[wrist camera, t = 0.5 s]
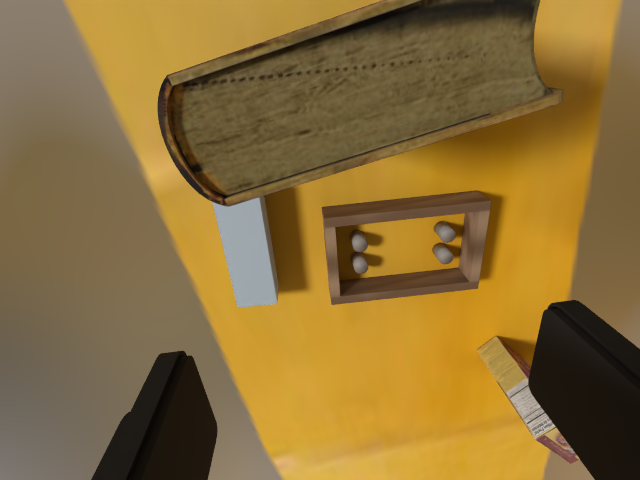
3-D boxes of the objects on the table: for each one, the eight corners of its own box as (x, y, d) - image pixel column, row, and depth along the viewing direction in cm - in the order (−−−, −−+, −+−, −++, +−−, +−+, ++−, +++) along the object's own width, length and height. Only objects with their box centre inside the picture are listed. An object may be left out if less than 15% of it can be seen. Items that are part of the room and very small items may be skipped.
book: (256, 124, 37) (200, 215, 15) (236, 70, 35) (134, 86, 13) (403, 75, 36) (576, 99, 14) (393, 16, 34) (585, -71, 11)
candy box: (527, 358, 57) (599, 450, 44) (505, 373, 59) (569, 466, 45) (497, 333, 54) (564, 423, 41) (475, 349, 56) (533, 442, 42)
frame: (321, 207, 42) (324, 218, 39) (477, 190, 43) (491, 200, 40) (329, 289, 48) (331, 304, 45) (466, 274, 48) (477, 288, 45)
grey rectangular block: (219, 182, 40) (210, 195, 36) (261, 178, 40) (258, 191, 36) (242, 287, 47) (237, 307, 43) (278, 283, 47) (277, 303, 43)
